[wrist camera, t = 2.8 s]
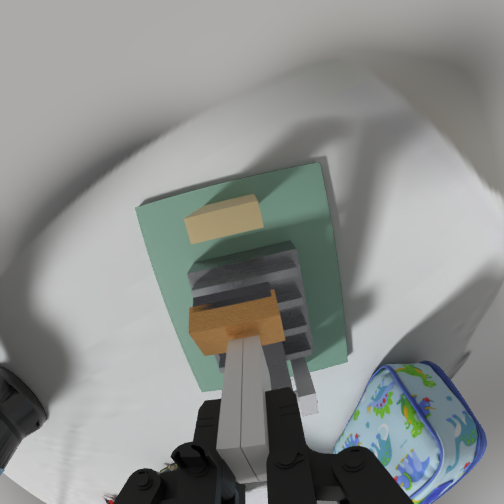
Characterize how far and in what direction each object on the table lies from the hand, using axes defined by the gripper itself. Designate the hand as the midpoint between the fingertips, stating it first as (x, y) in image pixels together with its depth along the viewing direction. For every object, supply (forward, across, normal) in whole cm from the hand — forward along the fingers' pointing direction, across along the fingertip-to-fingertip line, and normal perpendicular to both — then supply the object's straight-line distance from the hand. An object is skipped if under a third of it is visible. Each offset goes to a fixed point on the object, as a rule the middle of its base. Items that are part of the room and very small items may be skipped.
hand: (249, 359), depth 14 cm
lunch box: (+17, +14, -30) cm, 37 cm away
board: (+17, 0, -4) cm, 17 cm away
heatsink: (+16, 0, -4) cm, 16 cm away
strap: (+5, 0, -4) cm, 7 cm away
